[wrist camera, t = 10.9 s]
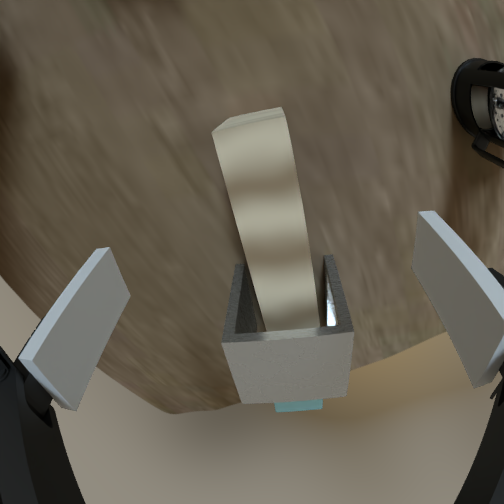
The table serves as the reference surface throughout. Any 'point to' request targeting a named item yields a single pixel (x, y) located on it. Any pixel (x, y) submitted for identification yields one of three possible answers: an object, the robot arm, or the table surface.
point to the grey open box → (288, 348)
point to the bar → (269, 216)
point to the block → (298, 405)
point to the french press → (499, 103)
